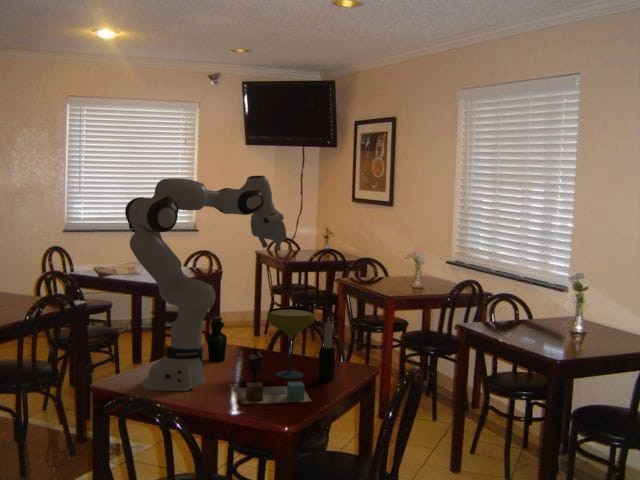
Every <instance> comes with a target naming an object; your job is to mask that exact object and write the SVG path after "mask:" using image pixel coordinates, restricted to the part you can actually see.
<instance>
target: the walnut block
mask: <svg viewBox="0 0 640 480" xmlns="http://www.w3.org/2000/svg"><path fill="white" fill-rule="evenodd" d="M263 387H264V385H263V383H262V382H261V381H257V382H252V381H250V382H246V387H245V388H246V398H247V400H248V401H263Z"/></svg>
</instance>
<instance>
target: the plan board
mask: <svg viewBox="0 0 640 480" xmlns="http://www.w3.org/2000/svg"><path fill="white" fill-rule="evenodd" d="M235 391H236V394H237V396H238V399H239V402H240V403H241V405H258V404H260V405H261V404H279V403H280V404H283V403H285V404H286V403H306V402H307V403H308V402H313V400H312V398H310V396H309V394H308V393H307V392H306V390H305V389H304V400H296V401H290V400H289V399H288V397H287V385H284V386H281V385H279V386H263V401H248V400H247V398H246V387H235Z"/></svg>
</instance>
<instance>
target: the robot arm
mask: <svg viewBox="0 0 640 480" xmlns="http://www.w3.org/2000/svg"><path fill="white" fill-rule="evenodd" d="M204 207H207V208H213V209H216V210H217V211H219V212H220V213H222V214H225V215H232V214H233V215H240V216H241V215H243V216H249V215H251V216H250V229H251V234H252V235H253V236H254V237H257V238H258V240H259V242H260V244H261V247H262V248H268V246H269V244H268V242H267V241H266V240H268V241H269V240H270V241H274V243H275V246H274V250H275V251H276V252H280V251H281V250H282V247H281V246H282V242H283V241H285V240H286V239H287V230H286V225H285V222H284V220H285V219H284V215H283V214H282V213H281V212H280V211H278V210H277V209H276V207H275V204H274V202H273V193H272V189H271V184H270V181H269V179H268V178H267V176H265V175H250V176H247V178H246V181H245V183H244V184H243V185H242V187H240V188H229V187H225V188H221V189H218V190H209V189H207V187H206V185H205V184H204V183H202V182H199V181H196V180H194V179H190V178H189V179H187V178H176V177H174V178H164V179H160V180H159V181H158V182H157V184H156V186H155V187H154V194H153V196H152V197H143V196H141V197H136V198H133V199H131V200H129V202H127V204H126V206H125V210H124V215H125V218H126V221H127V224H128V227H129V230H130V231H132V232H133V233H134V234H132V235H131V237H130V239H129V248H130V250H131V251H132V253H133V254H134V256H135V257H136V259H137V261H138V262H139V263H140V265H141V266H142V267H143V268H144V269H145V270H146V272H147V273H148V274H149V275H150V276H151V277H152V279H153V280H154V282H155V283H156V284H157V286H158V288H159V290H158V291H159V297H161V299H162V300H163V301H165V303H167V304H169V305H171V306H175V307H178V308H179V309H178V314H177V318H176V319H175V320H174V321H173V322H172V324H171V326H170V345H168V344H164V346H163V351H164V356H163V357H162V358H160V359H159V360H157V361H156V362H155V363H153V364H152V365H151V367H150V369H149V371H148V376H147V377H145V378H144V379H143V380H142V384H141V388H142V389H144V390H146V391H157V392H158V391H162V392H164V391H165V392H189V391H193V387H195V386H199V385H201V384H203V385H204V384H206V381H205V376H204V370H203V362H202V361H203V359H204V358H203V357H204V348H203V345H202V339H203V337H202V336H203V326H204V325H203V323H204V321H205V317H206V314H207V312H208V311H209V310H210V309H211V308H212V307H213V305H214V304H215V301H216V290H215V289H214V287H213V286H212V285H210V284H209V283H207V282H205V281H203V280H201V279H195V278H190V277H189V276H188V275H186V274H185V273H184V271H183V269H182V267H183V266H182V265H183V264H182V261H181V260H180V258H179V257H178V256H177V255H176V254H175V253H174V251H173V250H172V248H170V246H169V245H168V244H167V243H166V242H165V241H164V240H163V237H162V235H161V233H166V232H169V231H171V230H172V229H173V228H174V227H176V224H177V221H178V217H179V216H178V215H179V214H178V213H179V211H189V212H190V211H200V210H202V209H203V208H204Z"/></svg>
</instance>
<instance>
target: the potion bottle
mask: <svg viewBox="0 0 640 480" xmlns="http://www.w3.org/2000/svg"><path fill="white" fill-rule="evenodd" d="M212 320H213V321H211V322H210V325H209V326H210V327H211V328H212V330H213V332H211V333H210V334H209V335H207V342H206V343H207V352H208V353H207V355H208V361H209V362H211V363H222V362H224V361H225V359H226V351H227V350H226V347H227V341H228V337H227V335H226V334H225V333H223V332H222V329H223V328H224V327H225V322H223V321H222V320H223V317H222V316H213V317H212Z"/></svg>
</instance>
